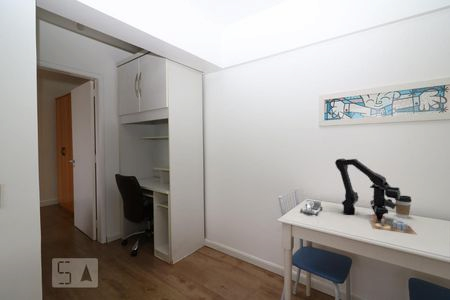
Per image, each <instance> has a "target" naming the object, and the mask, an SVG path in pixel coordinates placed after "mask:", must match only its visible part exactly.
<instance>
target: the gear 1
mask: <svg viewBox="0 0 450 300" xmlns="http://www.w3.org/2000/svg"><path fill="white" fill-rule="evenodd" d="M371 216H372V219H373V220H374V221H378V219H377V216H376V214H375V213H372V215H371ZM385 217H386V216H385V215H383V217H382V219H386V218H385Z"/></svg>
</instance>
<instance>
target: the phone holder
mask: <svg viewBox="0 0 450 300" xmlns="http://www.w3.org/2000/svg"><path fill="white" fill-rule="evenodd" d="M304 206H305V207H304V208H300V213H307V214H313V215H315V216H316V217H317V216H319V212H322V211H323V206H322V200H321V201H320V200H314V199H310V198H309V199H308V198H307V199H306V202H305V205H304Z"/></svg>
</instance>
